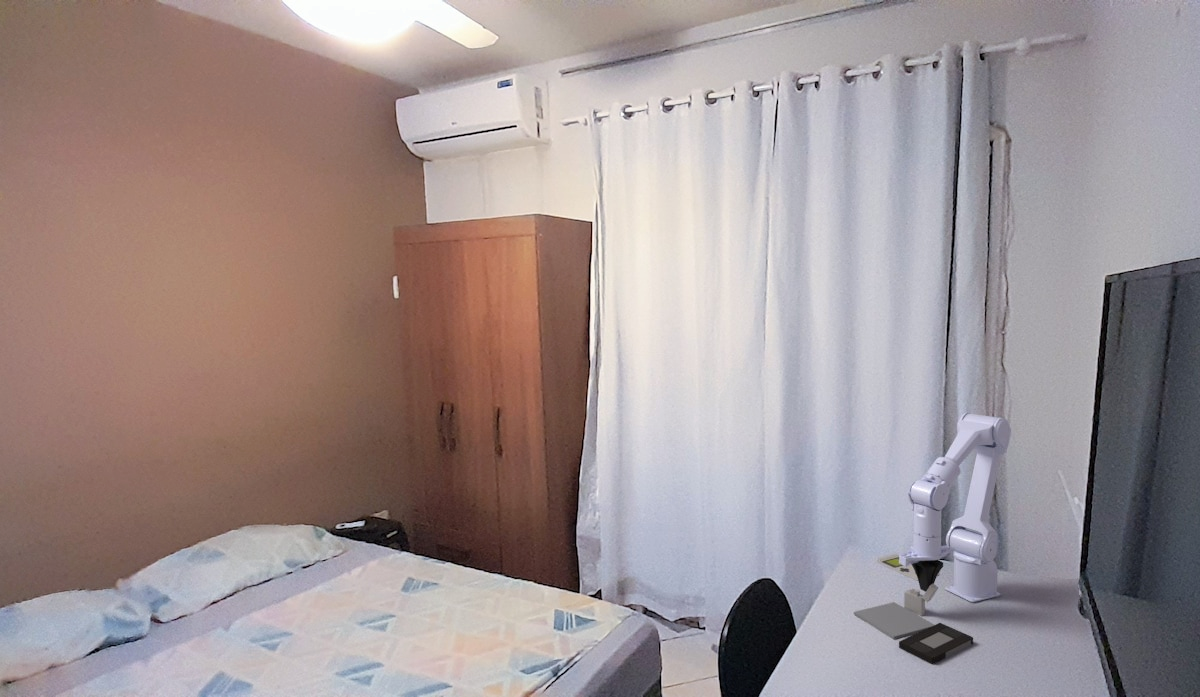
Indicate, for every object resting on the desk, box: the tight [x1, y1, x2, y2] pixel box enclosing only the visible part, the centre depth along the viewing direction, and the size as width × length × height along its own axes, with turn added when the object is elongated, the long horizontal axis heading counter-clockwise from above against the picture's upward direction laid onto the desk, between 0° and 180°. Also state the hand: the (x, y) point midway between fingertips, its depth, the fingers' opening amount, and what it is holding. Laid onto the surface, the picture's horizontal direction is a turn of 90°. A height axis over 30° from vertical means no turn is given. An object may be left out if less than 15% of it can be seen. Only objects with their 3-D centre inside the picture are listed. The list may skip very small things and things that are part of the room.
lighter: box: [903, 582, 939, 617], centre depth 153 cm, size 7×2×8 cm, turn 39°
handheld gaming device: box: [877, 553, 940, 582], centre depth 179 cm, size 9×1×15 cm
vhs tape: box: [898, 622, 974, 666], centre depth 140 cm, size 8×14×2 cm, turn 121°
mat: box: [853, 602, 935, 640], centre depth 151 cm, size 12×12×1 cm
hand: (925, 590), depth 153 cm, fingers closed
